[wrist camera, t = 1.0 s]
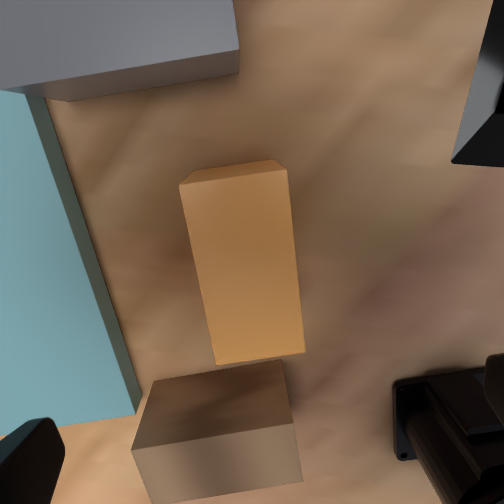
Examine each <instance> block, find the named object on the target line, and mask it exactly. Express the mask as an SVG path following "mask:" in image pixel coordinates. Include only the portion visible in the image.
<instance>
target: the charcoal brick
mask: <svg viewBox="0 0 504 504" xmlns="http://www.w3.org/2000/svg"><path fill="white" fill-rule="evenodd" d="M239 50H240V49H239V42H238V36H237V29H236V22H235V15H234V8H233V2H232V0H0V90H3V91H8V92H14V93H20V94H25V95H31V96H37V97H42V98H48V99H54V100H59V101H65V102H71V101H77V100H83V99H89V98H95V97H101V96H107V95H113V94H119V93H125V92H131V91H137V90H143V89H149V88H155V87H161V86H167V85H173V84H179V83H185V82H190V81H196V80H202V79H208V78H214V77H220V76H226V75H232V74H238V73H239Z"/></svg>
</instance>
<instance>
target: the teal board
mask: <svg viewBox="0 0 504 504" xmlns="http://www.w3.org/2000/svg"><path fill="white" fill-rule="evenodd" d="M141 398H142V394H141V391H140V388H139V384H138V381H137V378H136V375H135V372H134V369H133V366H132V363H131V360H130V357H129V354H128V351H127V348H126V345H125V342H124V339H123V336H122V333H121V330H120V327H119V324H118V321H117V318H116V315H115V312H114V309H113V306H112V303H111V300H110V297H109V294H108V291H107V287H106V284H105V281H104V278H103V275H102V272H101V269H100V266H99V263H98V260H97V257H96V254H95V251H94V248H93V245H92V242H91V239H90V236H89V233H88V230H87V227H86V224H85V221H84V218H83V215H82V212H81V209H80V206H79V203H78V200H77V197H76V194H75V190H74V187H73V184H72V181H71V178H70V175H69V172H68V169H67V166H66V163H65V160H64V157H63V154H62V151H61V148H60V145H59V142H58V139H57V136H56V133H55V130H54V127H53V124H52V121H51V118H50V115H49V112H48V109H47V106H46V103H45V100H44V98H42V97H37V96H31V95H25V94H20V93H14V92H8V91H3V90H0V436H1V435H8V434H10V433H11V432H13V431H14V430H15V429H17V428H18V427H19V426H21V425H22V424H24V423H25V422H26V421H28V420H31V419H36V418H43V417H50V418H51V419H53V420H54V422H55V424H56V427H59V426H66V425H72V424H79V423H85V422H91V421H98V420H104V419H111V418H117V417H124V416H130V415H136V412H137V409H138V407H139V404H140V401H141Z"/></svg>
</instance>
